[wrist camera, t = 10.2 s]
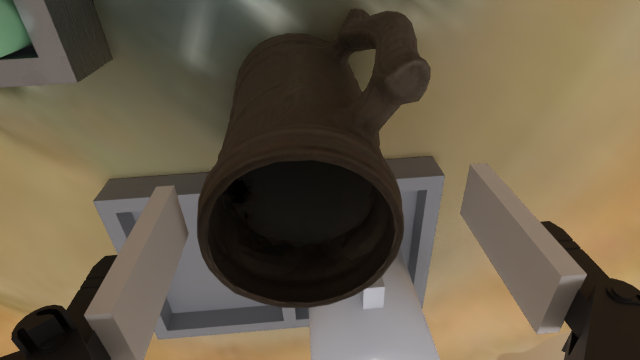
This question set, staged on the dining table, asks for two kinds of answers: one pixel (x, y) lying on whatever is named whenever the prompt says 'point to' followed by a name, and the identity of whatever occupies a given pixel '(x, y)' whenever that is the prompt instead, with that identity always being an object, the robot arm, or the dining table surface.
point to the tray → (220, 302)
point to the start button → (11, 29)
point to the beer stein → (310, 166)
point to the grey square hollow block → (56, 44)
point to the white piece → (374, 323)
